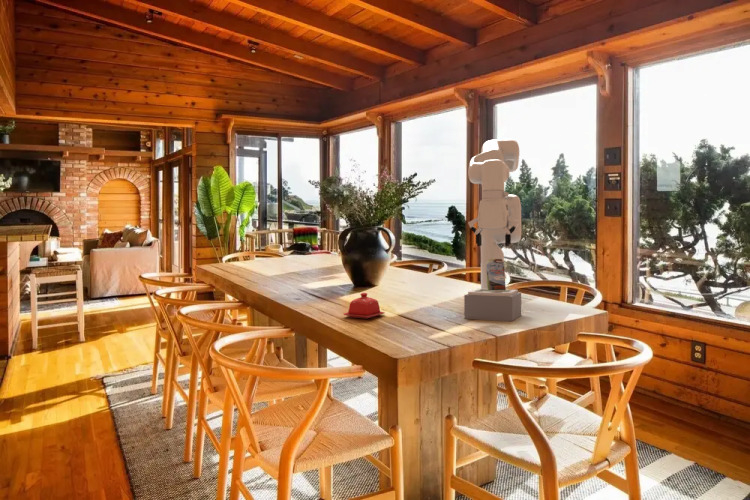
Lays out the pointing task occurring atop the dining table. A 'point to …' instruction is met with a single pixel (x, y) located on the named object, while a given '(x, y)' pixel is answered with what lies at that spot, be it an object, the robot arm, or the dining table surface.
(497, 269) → the beverage can
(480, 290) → the stand
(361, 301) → the butter dish
